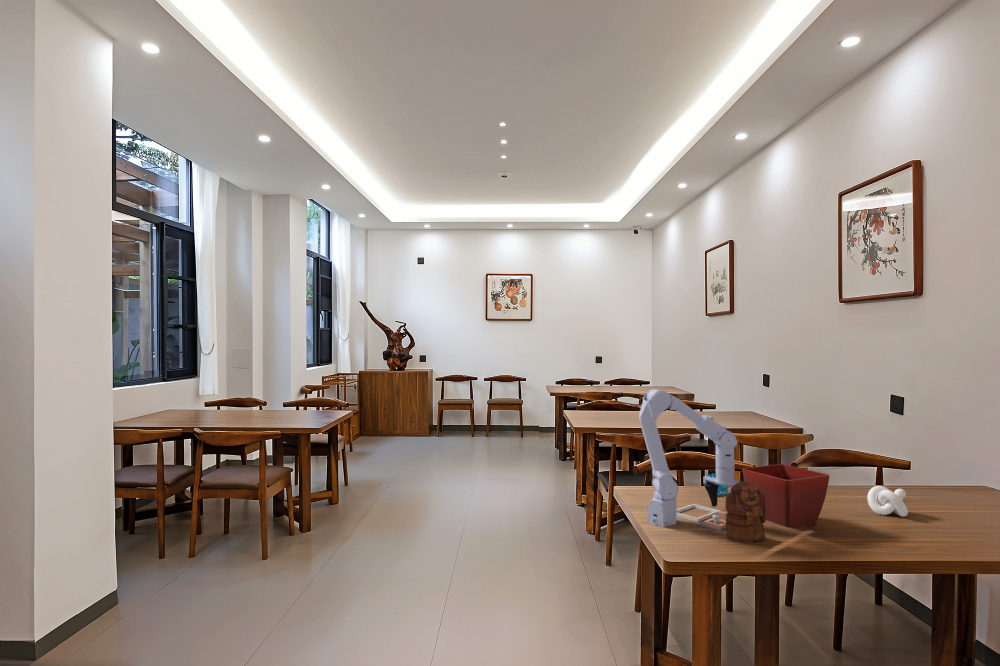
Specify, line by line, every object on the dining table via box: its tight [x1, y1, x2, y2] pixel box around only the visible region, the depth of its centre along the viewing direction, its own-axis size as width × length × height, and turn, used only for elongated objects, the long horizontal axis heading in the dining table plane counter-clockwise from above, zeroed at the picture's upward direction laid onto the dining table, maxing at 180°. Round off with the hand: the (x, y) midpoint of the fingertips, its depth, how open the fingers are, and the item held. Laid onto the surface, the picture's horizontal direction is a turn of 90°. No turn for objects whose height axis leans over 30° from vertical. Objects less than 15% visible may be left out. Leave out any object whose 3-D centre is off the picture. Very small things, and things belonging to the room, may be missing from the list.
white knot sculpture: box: [866, 485, 909, 518], centre depth 193 cm, size 11×12×9 cm
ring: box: [702, 509, 728, 530], centre depth 179 cm, size 10×6×4 cm, turn 130°
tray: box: [677, 503, 721, 523], centre depth 190 cm, size 14×10×2 cm
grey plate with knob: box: [695, 515, 726, 534], centre depth 177 cm, size 9×9×4 cm
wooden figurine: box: [724, 480, 767, 545], centre depth 165 cm, size 12×6×18 cm, turn 110°
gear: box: [703, 472, 730, 498], centre depth 220 cm, size 11×6×10 cm
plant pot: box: [742, 463, 830, 528], centre depth 184 cm, size 19×19×17 cm
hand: (725, 508), depth 181 cm, fingers open, 7 cm apart
